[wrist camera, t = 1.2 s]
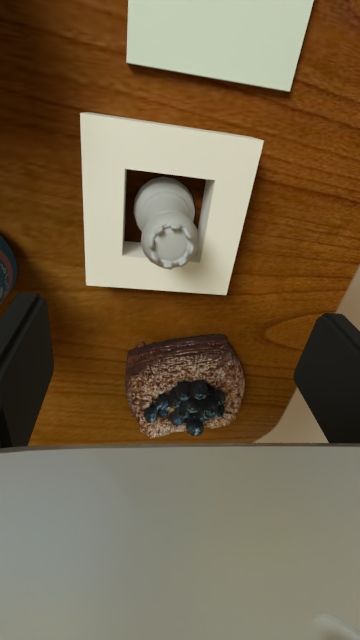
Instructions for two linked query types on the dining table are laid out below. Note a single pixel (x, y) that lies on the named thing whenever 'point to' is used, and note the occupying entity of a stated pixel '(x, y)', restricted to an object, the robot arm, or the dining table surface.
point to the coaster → (220, 38)
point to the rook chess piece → (166, 222)
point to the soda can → (6, 269)
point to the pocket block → (175, 159)
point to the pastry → (184, 385)
